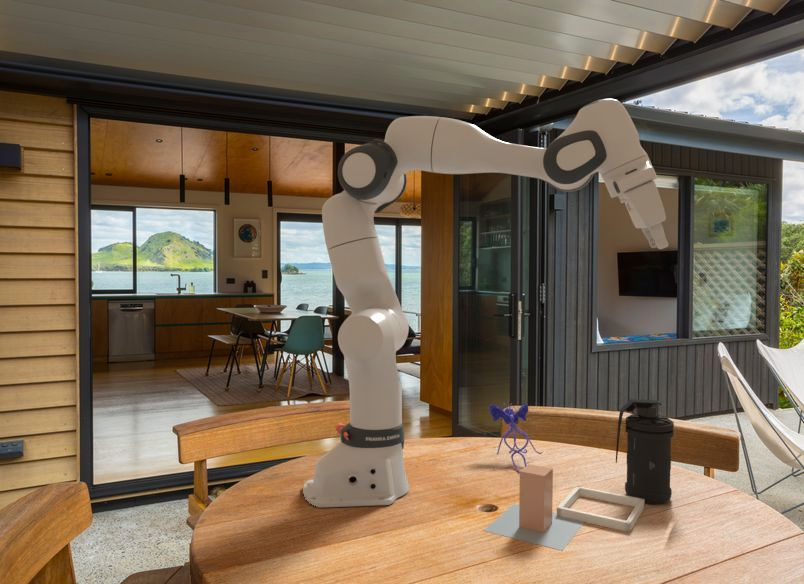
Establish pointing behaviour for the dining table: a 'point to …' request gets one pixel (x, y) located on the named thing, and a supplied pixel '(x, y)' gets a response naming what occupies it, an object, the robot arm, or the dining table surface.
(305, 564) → the dining table surface
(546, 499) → the tall salmon pillar
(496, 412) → the squid
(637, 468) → the grenade
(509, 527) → the plate
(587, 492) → the box
